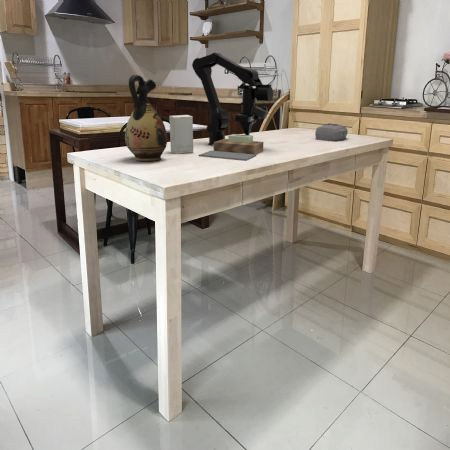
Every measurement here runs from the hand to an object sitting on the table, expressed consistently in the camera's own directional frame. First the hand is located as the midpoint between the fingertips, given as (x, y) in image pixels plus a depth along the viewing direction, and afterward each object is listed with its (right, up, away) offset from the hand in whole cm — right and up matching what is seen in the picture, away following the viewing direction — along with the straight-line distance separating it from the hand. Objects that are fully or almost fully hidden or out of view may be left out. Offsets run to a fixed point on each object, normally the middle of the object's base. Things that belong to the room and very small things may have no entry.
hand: (247, 136), depth 187 cm
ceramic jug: (-40, -15, -30) cm, 52 cm away
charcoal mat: (-9, -12, -18) cm, 23 cm away
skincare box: (-28, -9, -13) cm, 32 cm away
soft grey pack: (+47, +6, +38) cm, 61 cm away
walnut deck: (-4, -8, -8) cm, 12 cm away
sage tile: (-3, -4, -7) cm, 9 cm away
